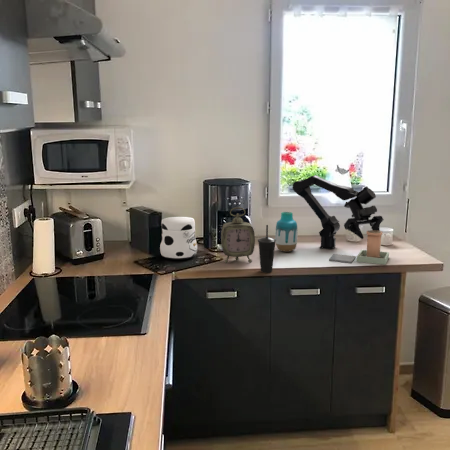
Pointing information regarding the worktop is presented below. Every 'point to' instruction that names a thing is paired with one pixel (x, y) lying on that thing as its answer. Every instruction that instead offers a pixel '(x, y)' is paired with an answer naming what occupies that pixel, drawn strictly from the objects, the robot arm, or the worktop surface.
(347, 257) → the slate tile
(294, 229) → the vase
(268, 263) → the drinking cup
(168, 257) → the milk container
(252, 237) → the tabletop clock
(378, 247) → the terracotta pot
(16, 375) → the worktop surface
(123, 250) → the worktop surface
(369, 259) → the green tray
